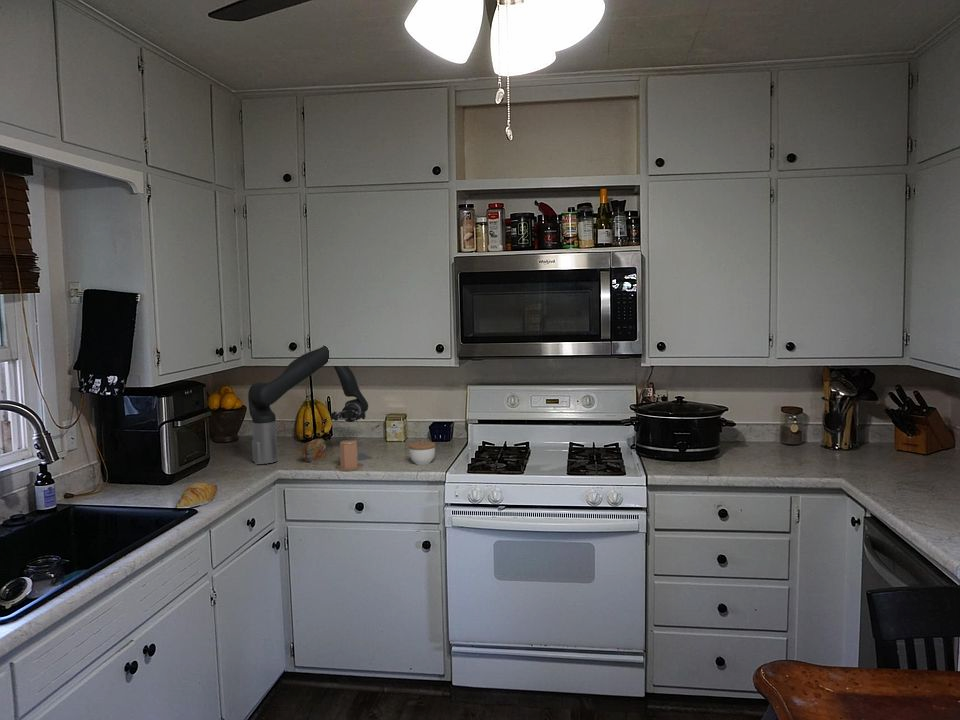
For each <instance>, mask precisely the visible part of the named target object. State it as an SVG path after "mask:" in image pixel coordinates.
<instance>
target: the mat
mask: <svg viewBox="0 0 960 720" xmlns="http://www.w3.org/2000/svg"><path fill="white" fill-rule="evenodd" d="M335 459H337V460H338V461H341V460H340V456H337V457H335ZM371 459H374V457H373V456H370V455H366V454H364V453H360V452H359V453H358V462H361V461H364V460H366V461H367V460H371Z"/></svg>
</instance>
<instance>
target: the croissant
mask: <svg viewBox="0 0 960 720" xmlns="http://www.w3.org/2000/svg"><path fill="white" fill-rule="evenodd" d="M215 493H216V494H217V493H218V486H217V485H216V484H209V483H208V482H205V481H202V482H201V481H200V482H195V483H192V484H190V485H188V486H186V488H185V489H184V490H183V491H182V495H181V496H180V498H179V499H178V501H177V502H178V503H176V507H184V506H192V505H196V504H200V503H203V502H206V501H209V500H210V499H212V498H213V499H214V497H215V496H214V495H216V494H215ZM213 499H212V500H213Z"/></svg>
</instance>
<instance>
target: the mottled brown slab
mask: <svg viewBox="0 0 960 720" xmlns="http://www.w3.org/2000/svg"><path fill="white" fill-rule="evenodd" d="M327 445H328V444H327V442H326V440H325V439H324V438H315V439H312V440H311V441H308V442H305V443H304V445H303V446H302V458H303V461H304V462H306V463H312V462H314V460H315V461H317V460H319V459H322V458H323V457H326V454H327V450H328V447H327ZM321 457H322V458H321Z"/></svg>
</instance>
